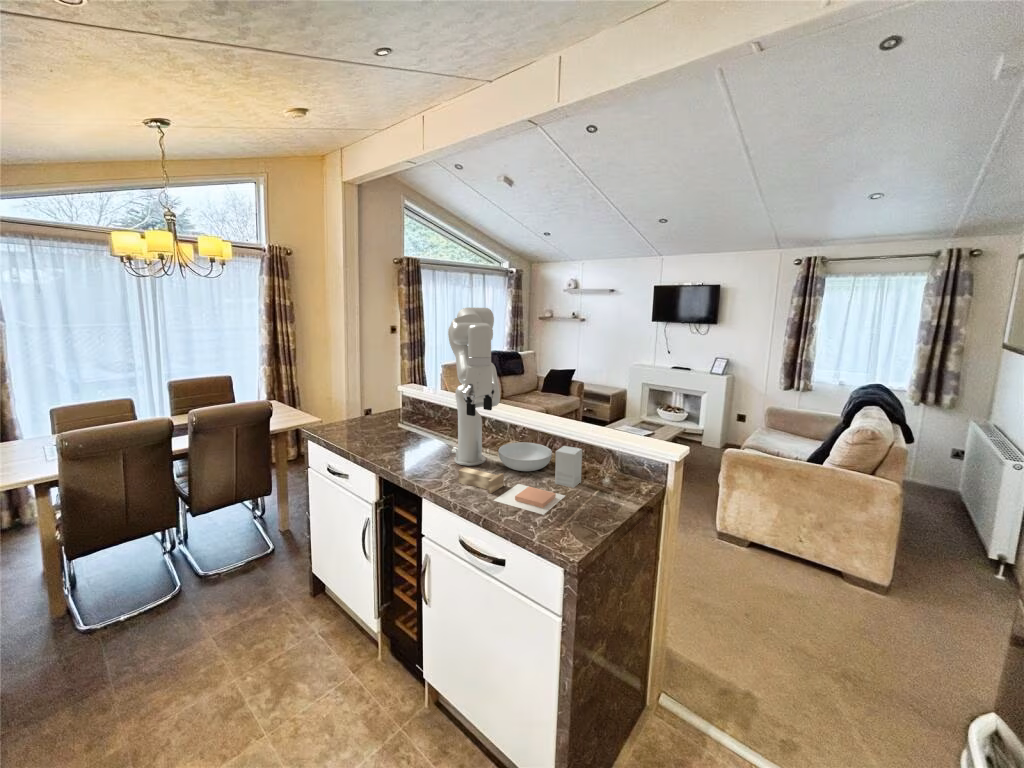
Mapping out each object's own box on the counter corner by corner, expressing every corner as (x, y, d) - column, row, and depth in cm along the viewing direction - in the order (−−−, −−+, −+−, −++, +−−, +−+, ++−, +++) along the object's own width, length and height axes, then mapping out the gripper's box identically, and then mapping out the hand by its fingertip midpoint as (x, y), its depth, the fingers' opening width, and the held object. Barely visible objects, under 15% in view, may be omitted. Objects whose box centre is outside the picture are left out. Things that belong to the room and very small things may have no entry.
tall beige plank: (454, 485, 152) (454, 472, 152) (468, 478, 159) (468, 465, 158) (490, 495, 145) (491, 481, 144) (503, 487, 152) (503, 473, 151)
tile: (515, 496, 139) (543, 503, 134) (528, 486, 147) (555, 493, 142) (515, 500, 140) (543, 508, 135) (528, 491, 147) (555, 498, 142)
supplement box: (581, 482, 157) (583, 448, 155) (573, 489, 151) (575, 454, 148) (562, 478, 161) (563, 445, 158) (554, 485, 154) (555, 450, 152)
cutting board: (493, 502, 140) (493, 500, 140) (518, 485, 153) (518, 483, 153) (543, 516, 131) (543, 514, 131) (565, 497, 144) (565, 495, 144)
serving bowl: (505, 479, 159) (505, 461, 158) (492, 460, 179) (493, 443, 177) (559, 474, 164) (560, 457, 163) (541, 456, 184) (541, 440, 183)
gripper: (485, 358, 154) (484, 406, 157) (454, 363, 139) (454, 416, 142) (503, 360, 150) (502, 409, 153) (473, 365, 136) (473, 419, 138)
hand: (479, 412), depth 148 cm, fingers open, 9 cm apart
